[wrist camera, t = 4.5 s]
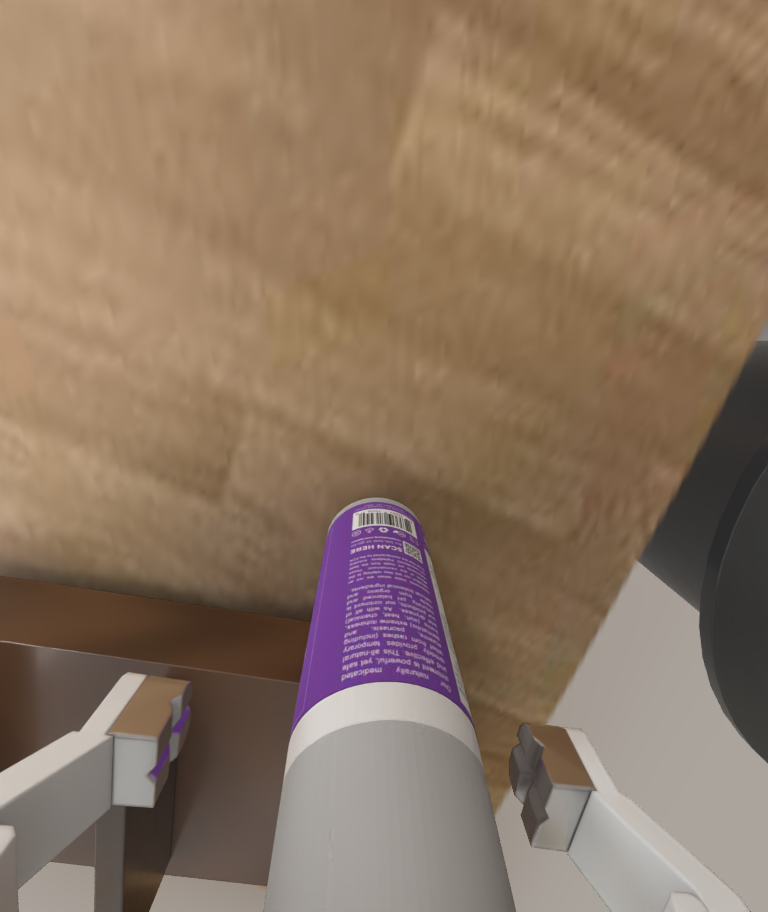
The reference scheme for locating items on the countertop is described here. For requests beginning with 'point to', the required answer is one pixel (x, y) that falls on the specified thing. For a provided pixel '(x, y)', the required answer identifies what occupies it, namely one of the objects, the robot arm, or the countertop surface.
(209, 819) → the brown two-slot stand
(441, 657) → the container
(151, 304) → the countertop surface
